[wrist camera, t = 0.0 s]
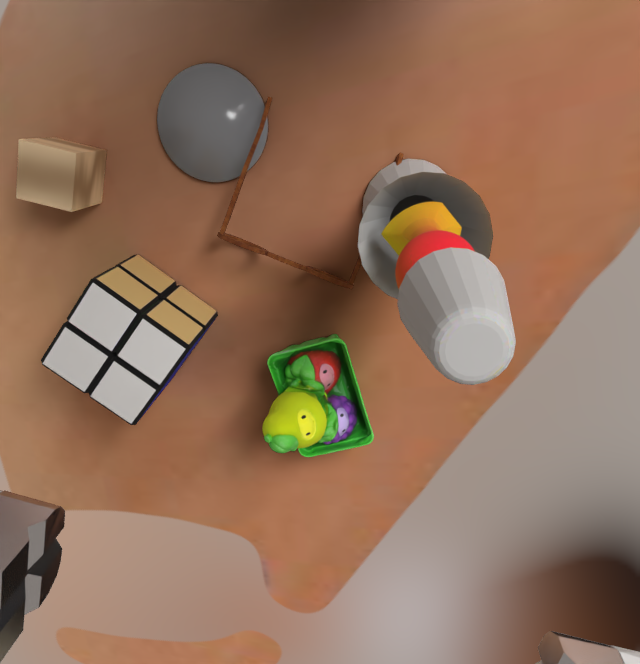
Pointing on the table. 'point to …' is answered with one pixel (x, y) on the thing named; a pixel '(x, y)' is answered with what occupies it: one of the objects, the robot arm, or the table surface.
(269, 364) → the fruit basket
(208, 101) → the slate coaster
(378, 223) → the lava lamp
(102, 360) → the puzzle cube
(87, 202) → the oak block
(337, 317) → the table surface
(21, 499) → the robot arm
